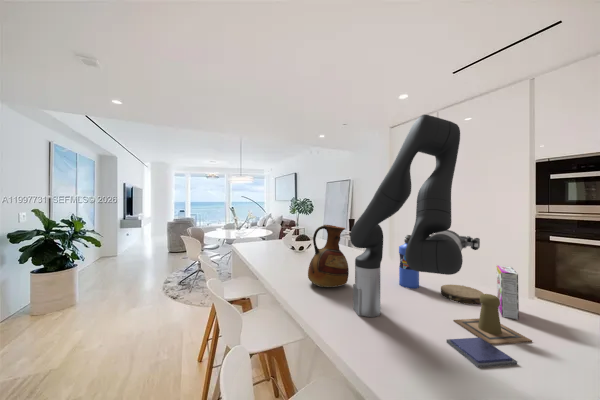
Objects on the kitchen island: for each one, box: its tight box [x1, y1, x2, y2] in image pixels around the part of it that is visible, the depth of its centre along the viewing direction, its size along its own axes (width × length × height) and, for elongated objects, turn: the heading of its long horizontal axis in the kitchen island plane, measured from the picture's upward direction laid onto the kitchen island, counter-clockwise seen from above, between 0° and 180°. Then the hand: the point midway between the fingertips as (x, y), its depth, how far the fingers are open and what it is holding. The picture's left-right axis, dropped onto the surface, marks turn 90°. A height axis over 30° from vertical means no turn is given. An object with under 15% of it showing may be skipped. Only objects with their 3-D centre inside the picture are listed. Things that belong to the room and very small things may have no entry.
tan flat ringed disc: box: [440, 284, 485, 305], centre depth 106 cm, size 16×16×3 cm
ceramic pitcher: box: [307, 223, 350, 288], centre depth 121 cm, size 20×20×30 cm
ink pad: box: [446, 337, 518, 368], centre depth 66 cm, size 11×11×1 cm
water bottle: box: [398, 234, 420, 290], centre depth 120 cm, size 9×9×25 cm
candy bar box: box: [496, 265, 520, 321], centre depth 91 cm, size 11×5×16 cm, turn 148°
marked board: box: [453, 318, 533, 346], centre depth 78 cm, size 14×14×1 cm
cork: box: [478, 293, 502, 335], centre depth 78 cm, size 6×6×11 cm
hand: (452, 238), depth 77 cm, fingers open, 8 cm apart
